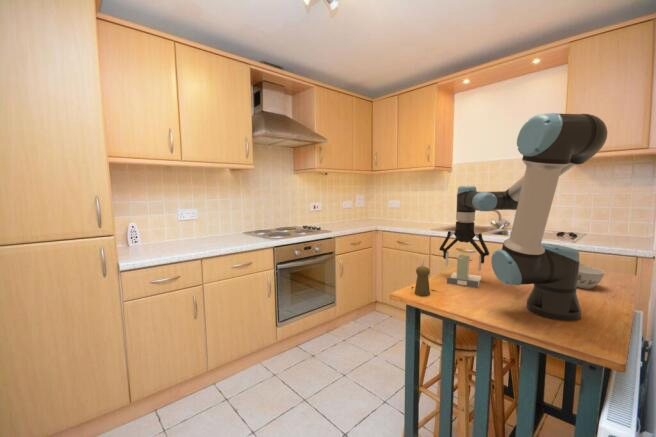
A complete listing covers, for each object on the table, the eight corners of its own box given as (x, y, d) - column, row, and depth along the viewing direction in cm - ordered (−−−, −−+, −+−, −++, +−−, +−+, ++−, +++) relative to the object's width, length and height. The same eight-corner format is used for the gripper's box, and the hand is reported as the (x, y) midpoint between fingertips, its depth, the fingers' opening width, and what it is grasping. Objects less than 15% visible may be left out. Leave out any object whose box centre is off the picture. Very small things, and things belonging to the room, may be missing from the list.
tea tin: (466, 282, 132) (467, 259, 131) (456, 280, 134) (457, 258, 133) (468, 276, 139) (469, 255, 137) (459, 275, 141) (460, 254, 140)
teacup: (601, 294, 119) (603, 274, 118) (561, 287, 128) (563, 268, 127) (603, 284, 130) (605, 266, 129) (567, 278, 138) (568, 261, 137)
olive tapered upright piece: (429, 291, 124) (430, 265, 123) (430, 297, 119) (431, 269, 117) (414, 290, 126) (415, 264, 125) (414, 295, 120) (415, 268, 119)
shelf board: (477, 291, 124) (478, 282, 124) (446, 286, 130) (447, 277, 130) (481, 278, 140) (481, 270, 139) (453, 274, 146) (453, 267, 145)
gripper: (497, 222, 130) (494, 269, 133) (437, 218, 143) (435, 262, 146) (497, 224, 124) (493, 274, 127) (433, 220, 136) (432, 266, 139)
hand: (462, 268), depth 136 cm, fingers open, 13 cm apart
